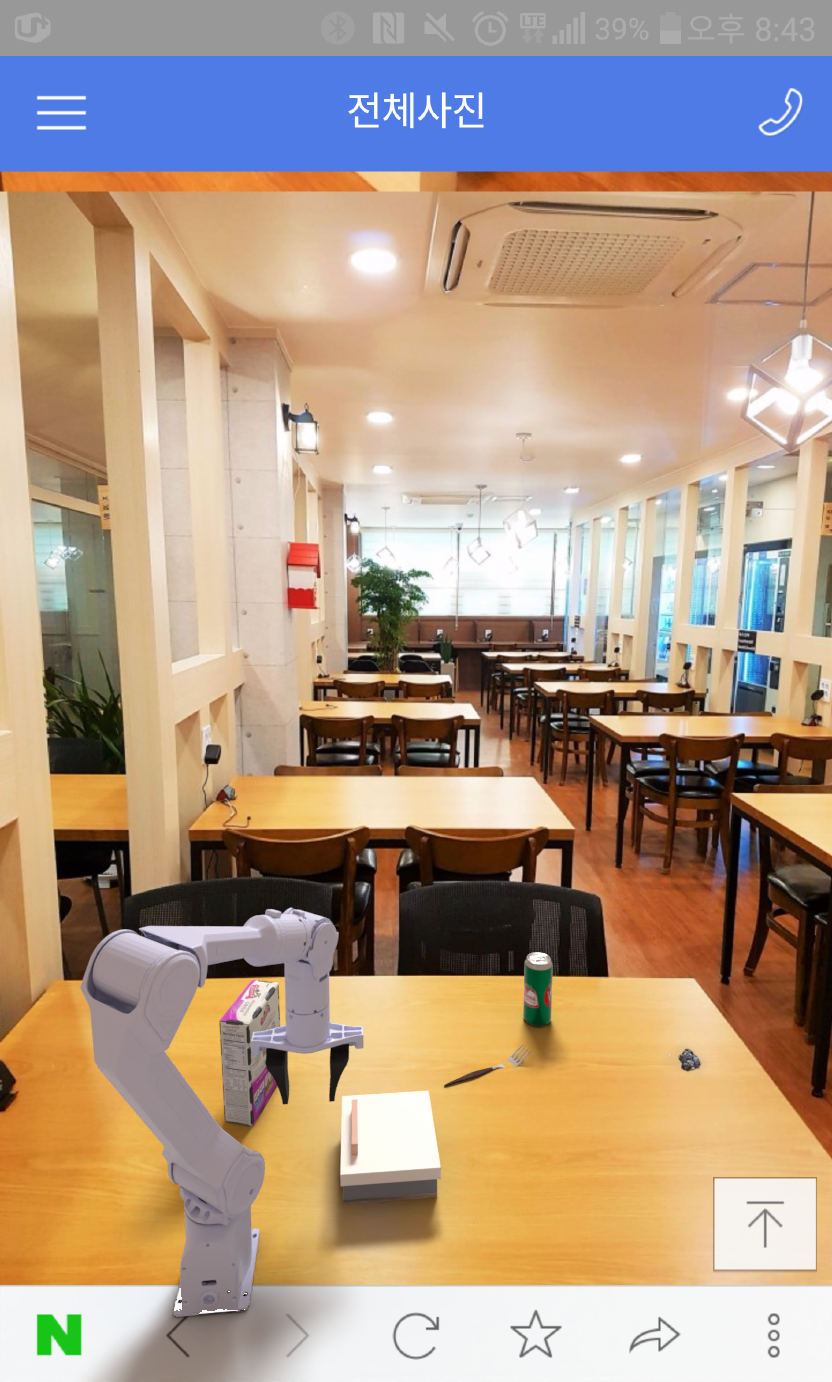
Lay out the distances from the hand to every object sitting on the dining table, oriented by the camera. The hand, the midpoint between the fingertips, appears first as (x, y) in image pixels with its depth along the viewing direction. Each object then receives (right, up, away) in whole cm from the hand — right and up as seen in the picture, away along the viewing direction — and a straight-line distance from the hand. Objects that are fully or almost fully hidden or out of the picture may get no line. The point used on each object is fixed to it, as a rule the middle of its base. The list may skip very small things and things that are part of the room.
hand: (309, 1097), depth 91 cm
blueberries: (+60, -8, +24) cm, 65 cm away
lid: (+10, -7, +2) cm, 13 cm away
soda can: (+37, -7, +35) cm, 51 cm away
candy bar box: (-11, -9, +14) cm, 20 cm away
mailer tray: (+10, -10, +2) cm, 15 cm away
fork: (+26, -9, +21) cm, 34 cm away
